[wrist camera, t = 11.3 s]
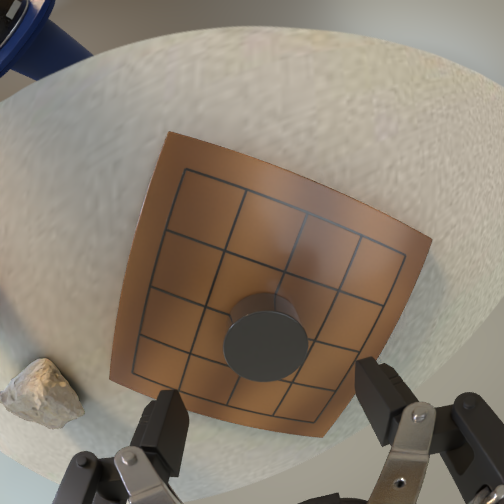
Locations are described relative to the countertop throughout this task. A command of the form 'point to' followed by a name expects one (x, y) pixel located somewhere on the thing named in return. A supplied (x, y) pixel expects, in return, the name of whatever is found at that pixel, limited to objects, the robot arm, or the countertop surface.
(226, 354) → the black stone
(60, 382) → the stone
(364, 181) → the countertop surface
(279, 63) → the countertop surface
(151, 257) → the grid board
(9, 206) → the countertop surface
